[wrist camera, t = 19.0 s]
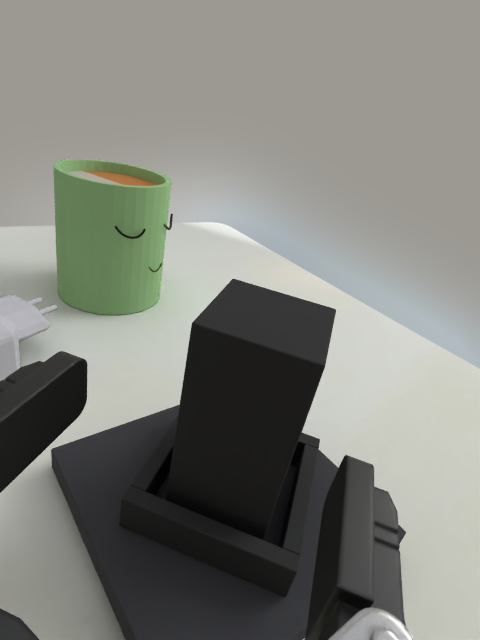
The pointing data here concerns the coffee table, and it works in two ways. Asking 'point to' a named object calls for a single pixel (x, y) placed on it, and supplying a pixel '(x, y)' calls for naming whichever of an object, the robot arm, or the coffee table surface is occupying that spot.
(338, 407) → the coffee table surface
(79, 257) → the mug
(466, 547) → the coffee table surface
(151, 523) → the base pad
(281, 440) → the tall black rectangular block
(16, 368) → the charger
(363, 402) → the coffee table surface
